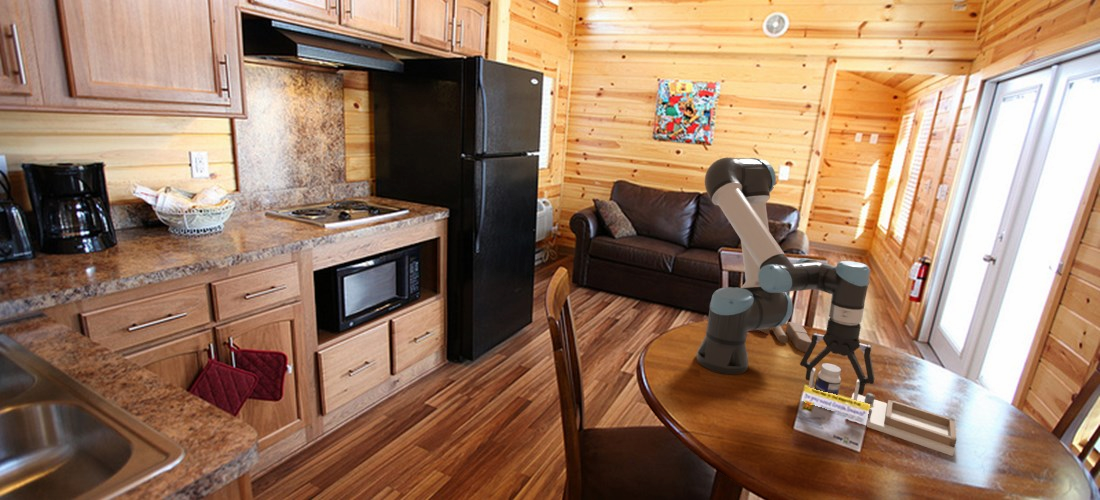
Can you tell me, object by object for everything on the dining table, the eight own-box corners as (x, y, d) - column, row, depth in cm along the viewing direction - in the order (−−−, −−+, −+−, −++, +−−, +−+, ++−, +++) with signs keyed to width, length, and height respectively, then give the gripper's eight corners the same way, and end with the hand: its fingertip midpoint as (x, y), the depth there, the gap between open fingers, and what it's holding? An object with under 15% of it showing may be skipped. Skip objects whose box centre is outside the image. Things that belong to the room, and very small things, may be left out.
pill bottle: (808, 394, 140) (815, 361, 138) (827, 394, 141) (834, 362, 138) (820, 405, 135) (828, 372, 132) (840, 405, 135) (848, 372, 133)
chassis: (845, 419, 129) (848, 407, 128) (851, 397, 140) (854, 386, 139) (952, 456, 116) (956, 443, 116) (950, 429, 127) (954, 416, 127)
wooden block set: (800, 319, 182) (815, 340, 165) (797, 334, 183) (812, 355, 166) (751, 313, 185) (761, 332, 168) (749, 327, 186) (758, 347, 169)
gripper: (794, 314, 135) (784, 389, 140) (895, 335, 122) (880, 417, 127) (800, 307, 141) (789, 379, 146) (897, 326, 128) (881, 405, 133)
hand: (831, 397), depth 136 cm, fingers open, 10 cm apart
